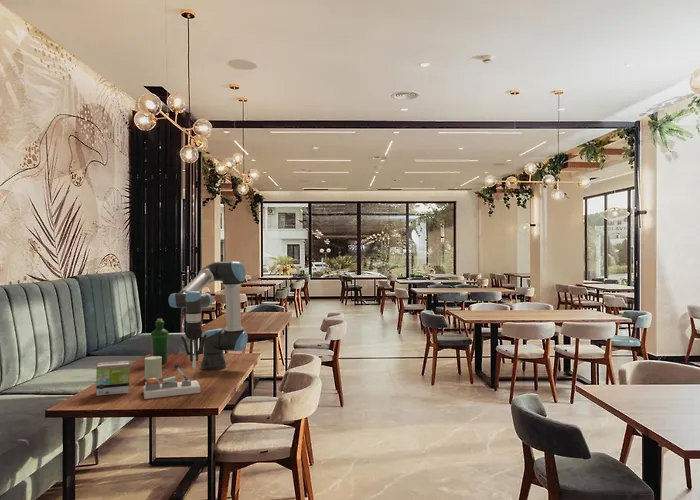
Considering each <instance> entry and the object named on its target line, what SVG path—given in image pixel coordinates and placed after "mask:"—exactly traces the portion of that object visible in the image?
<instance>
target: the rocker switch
mask: <svg viewBox="0 0 700 500" xmlns="http://www.w3.org/2000/svg"><path fill="white" fill-rule="evenodd" d="M170 381H177V377H176V376H175V375H173V376H170V377H166V378H163V379H162V382H164V383H166V382H170Z"/></svg>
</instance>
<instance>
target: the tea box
mask: <svg viewBox="0 0 700 500" xmlns="http://www.w3.org/2000/svg"><path fill="white" fill-rule="evenodd" d="M95 374H96V375H95V376H96V377H95V378H96V382H95V383H96V386H95V387H96V389H95V391H96V397H98V396H99V397H100V396H105V395H119V394H129V392H130V360H121V361H110V362H109V361H107V362H98V363H97V366H96V373H95Z"/></svg>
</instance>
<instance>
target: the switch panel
mask: <svg viewBox="0 0 700 500" xmlns="http://www.w3.org/2000/svg"><path fill="white" fill-rule="evenodd" d="M200 393H201V386H200V383H199V382H198V380H191V379H189V378H188V380H185V379H181V381H178V380H174V381H170V382H166V383H164V382H163V381H161V382H160V380H158V383H157V384H148V381H144V385H143V397H144V400H146V399H147V400H148V399H157V398H165V397H173V396H182V395H191V394H200Z"/></svg>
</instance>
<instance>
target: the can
mask: <svg viewBox="0 0 700 500" xmlns="http://www.w3.org/2000/svg"><path fill="white" fill-rule="evenodd" d="M162 369H163V366H162V357H160V356H152V355H151V356H146V357H145V358H144V380H145V381H148V378H157V379H158V380H160V379H162V378H163V375H162V374H163V372H162V371H163V370H162Z"/></svg>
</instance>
